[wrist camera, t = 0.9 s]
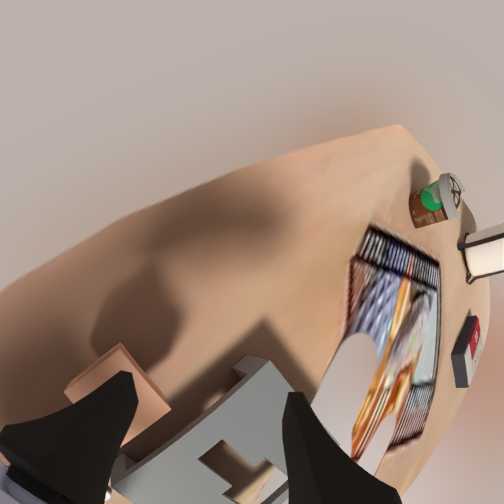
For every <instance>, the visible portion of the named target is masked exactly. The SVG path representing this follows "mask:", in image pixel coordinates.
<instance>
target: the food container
mask: <svg viewBox="0 0 504 504" xmlns="http://www.w3.org/2000/svg"><path fill="white" fill-rule="evenodd" d="M463 191H465V189H464V188H463V185H462V184H461V182H460V180H459V179H458V178H457V177H456V175H454V174H452V173H451V174H450V173H446V174H441V175H440V177H439V180H438V181H436V182H434V183H432V184H430V185H428V186H427V187H425V188H423V189H421V190H419V191H417V192H415V193H414V194H412V195H411V196H410V198H409V211H410V215H411V219H412V221H413V224H414V226H415V228H420V227H424V226H427V225H431V224H434V223H438V222H441V221H445V220H448V219H449V221H450V220H452V219H454V218H456V217H458V216H459V214H458V212H457V208H458V206H459V203H460V194H461V192H463Z"/></svg>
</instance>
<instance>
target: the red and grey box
mask: <svg viewBox="0 0 504 504" xmlns="http://www.w3.org/2000/svg"><path fill="white" fill-rule="evenodd" d="M481 351H482V339H481V334H480V326H479V320H478V318H477V316H470V317H467V320H466V322H465V325H464V327H463V330H462V332H461V335H460V337H459V340H458V342H457V343H456V345H455V347H454V349H453V352H452V354H451V359H452V365H453V370H454V377H455V383H456V388H467V387H468V386H469V385H470V383H471V380H472V377H473V373H475V370H476V367H477V364H478V361H479V358H480V354H481Z"/></svg>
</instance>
